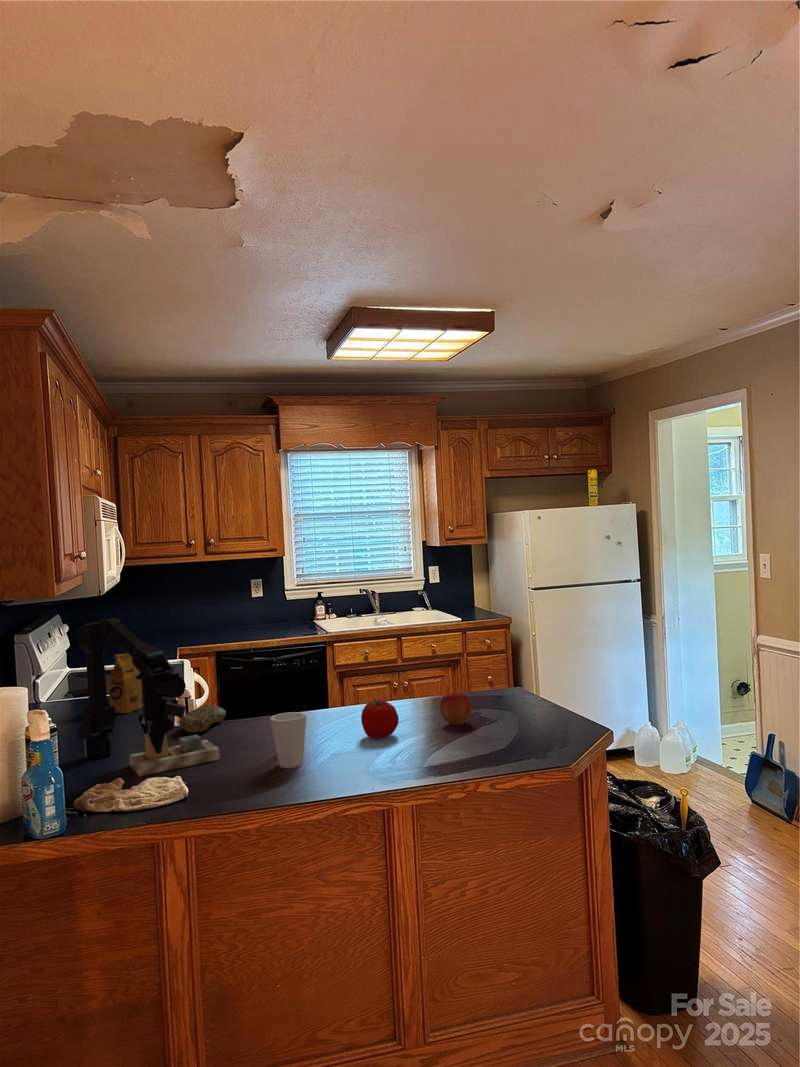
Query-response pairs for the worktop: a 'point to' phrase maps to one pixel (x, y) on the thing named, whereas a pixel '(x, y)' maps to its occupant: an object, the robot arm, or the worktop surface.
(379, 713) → the red fruit
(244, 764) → the worktop surface
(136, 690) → the coffee package
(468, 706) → the apple
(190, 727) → the speckled rock
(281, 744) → the foam cup
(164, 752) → the block
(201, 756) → the puzzle frame
